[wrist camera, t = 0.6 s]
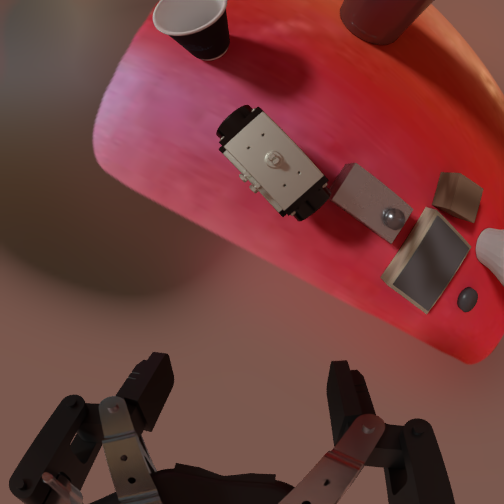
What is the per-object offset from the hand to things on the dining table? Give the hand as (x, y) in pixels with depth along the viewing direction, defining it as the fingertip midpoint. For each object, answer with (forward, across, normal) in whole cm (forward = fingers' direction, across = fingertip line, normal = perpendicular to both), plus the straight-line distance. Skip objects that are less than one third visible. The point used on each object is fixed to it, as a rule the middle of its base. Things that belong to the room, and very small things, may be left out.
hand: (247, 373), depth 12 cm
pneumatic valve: (+25, -1, -10) cm, 27 cm away
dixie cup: (+25, +7, -28) cm, 38 cm away
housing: (+25, -12, -6) cm, 28 cm away
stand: (+24, -23, +2) cm, 33 cm away
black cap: (+25, -34, +9) cm, 43 cm away
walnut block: (+25, -26, -7) cm, 37 cm away
